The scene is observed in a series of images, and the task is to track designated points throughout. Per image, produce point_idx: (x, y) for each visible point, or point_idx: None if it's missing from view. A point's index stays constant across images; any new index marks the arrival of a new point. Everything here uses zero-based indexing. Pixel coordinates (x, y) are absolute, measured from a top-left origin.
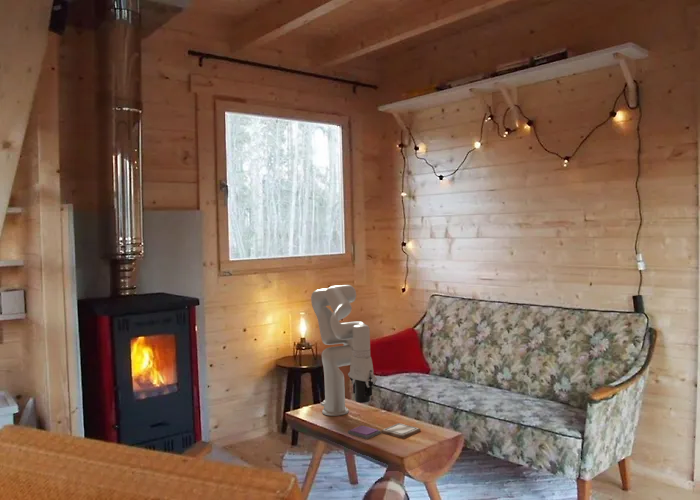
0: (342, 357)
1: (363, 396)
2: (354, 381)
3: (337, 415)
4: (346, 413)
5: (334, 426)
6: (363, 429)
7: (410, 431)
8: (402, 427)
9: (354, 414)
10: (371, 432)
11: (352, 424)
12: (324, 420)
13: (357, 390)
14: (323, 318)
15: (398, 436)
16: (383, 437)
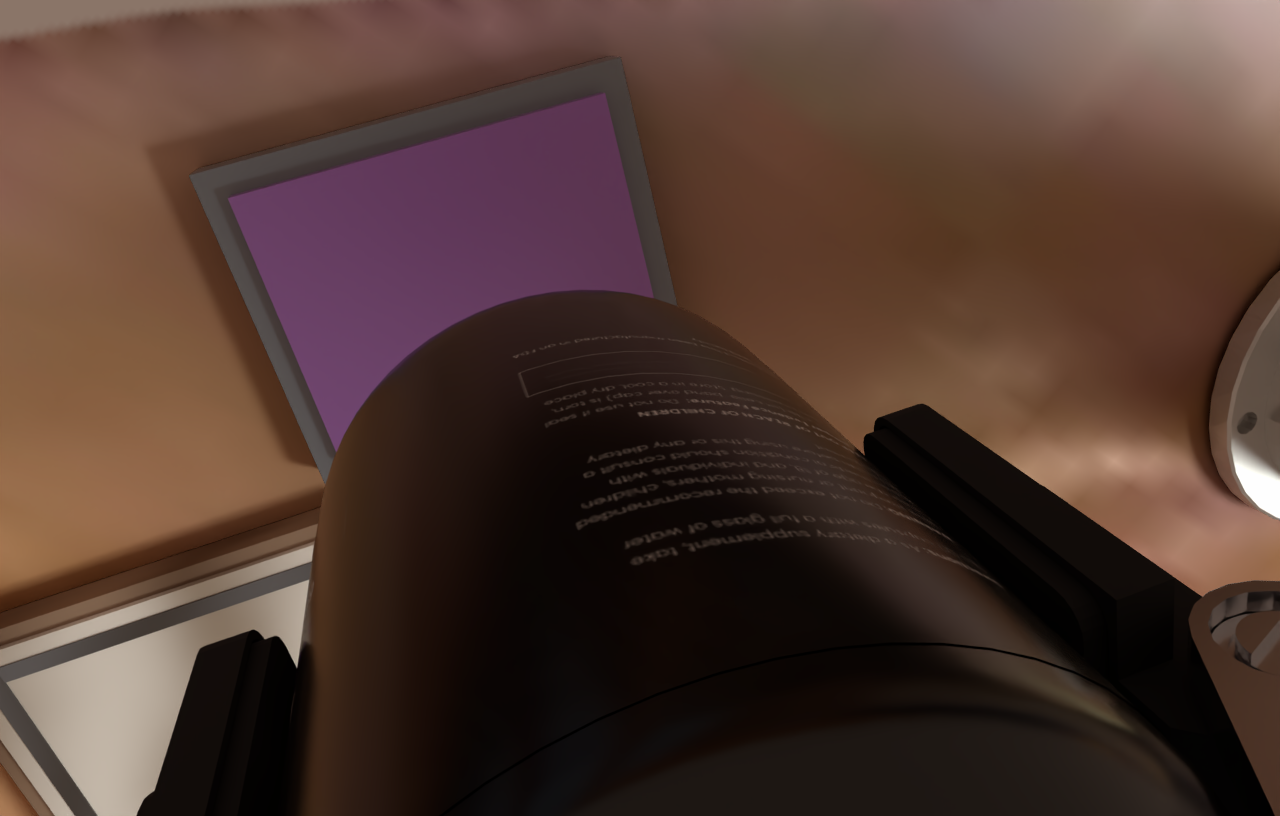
0: None
1: (331, 535)
2: (1246, 757)
3: (1242, 320)
4: (1211, 449)
5: (991, 66)
6: (490, 287)
7: (60, 806)
8: None
9: (1128, 515)
10: (286, 322)
11: (881, 324)
12: (1257, 87)
13: (563, 472)
14: None
15: (24, 610)
16: (140, 426)
